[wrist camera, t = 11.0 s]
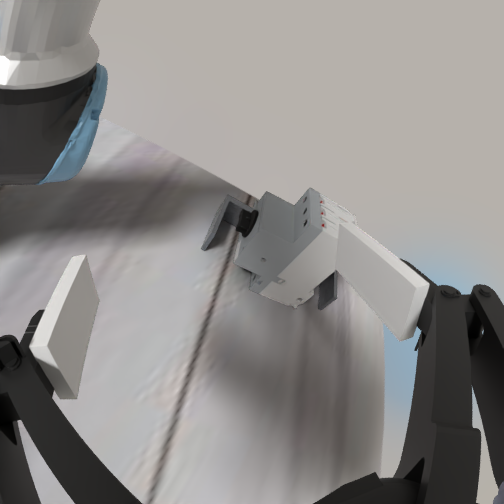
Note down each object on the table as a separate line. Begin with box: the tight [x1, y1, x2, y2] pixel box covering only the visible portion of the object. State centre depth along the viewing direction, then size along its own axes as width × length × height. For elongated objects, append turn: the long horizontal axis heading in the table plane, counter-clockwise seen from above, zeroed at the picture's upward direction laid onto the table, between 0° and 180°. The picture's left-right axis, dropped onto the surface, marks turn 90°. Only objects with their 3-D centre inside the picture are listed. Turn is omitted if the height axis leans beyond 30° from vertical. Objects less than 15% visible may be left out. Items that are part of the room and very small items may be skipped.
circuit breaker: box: [233, 188, 357, 309], centre depth 43 cm, size 8×14×15 cm, turn 83°
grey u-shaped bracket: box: [201, 195, 337, 310], centre depth 50 cm, size 22×9×4 cm, turn 79°
